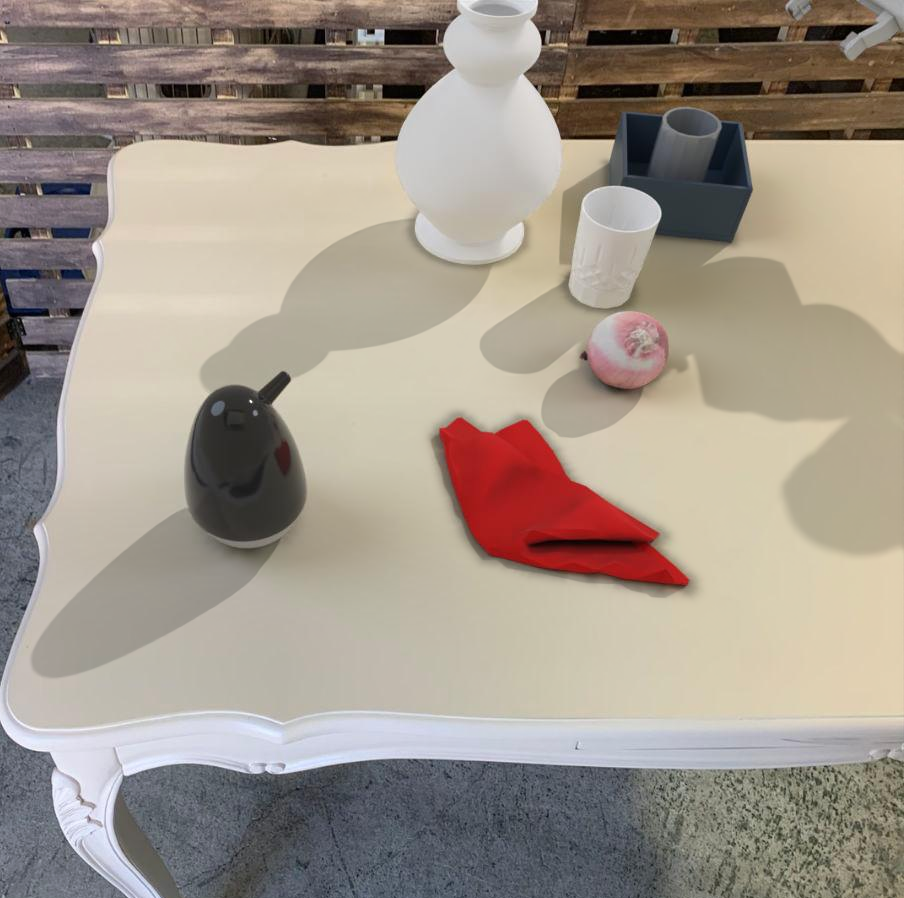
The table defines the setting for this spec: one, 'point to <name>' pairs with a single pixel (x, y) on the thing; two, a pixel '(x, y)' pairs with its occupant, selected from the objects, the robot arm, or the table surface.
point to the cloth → (544, 508)
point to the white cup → (611, 244)
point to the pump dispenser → (244, 466)
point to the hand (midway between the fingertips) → (816, 33)
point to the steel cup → (684, 145)
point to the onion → (627, 350)
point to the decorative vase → (481, 138)
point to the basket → (685, 202)
